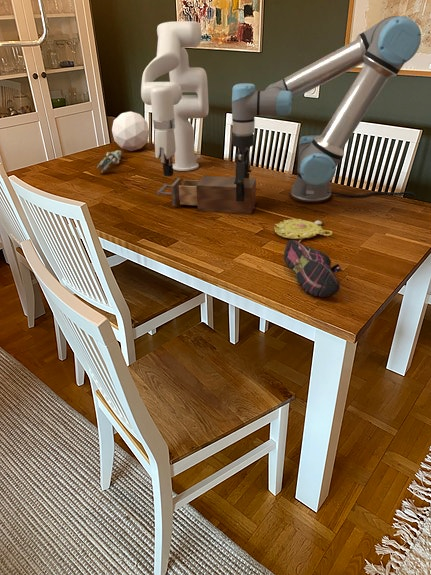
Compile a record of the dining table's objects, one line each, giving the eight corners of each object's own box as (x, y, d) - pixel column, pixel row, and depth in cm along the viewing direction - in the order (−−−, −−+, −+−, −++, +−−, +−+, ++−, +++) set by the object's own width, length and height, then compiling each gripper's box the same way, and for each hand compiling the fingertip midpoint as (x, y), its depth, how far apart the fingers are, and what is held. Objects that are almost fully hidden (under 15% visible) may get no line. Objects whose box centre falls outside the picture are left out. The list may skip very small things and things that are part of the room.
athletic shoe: (326, 286, 106) (365, 278, 110) (286, 224, 118) (323, 219, 122) (310, 314, 115) (347, 305, 119) (274, 254, 127) (309, 248, 131)
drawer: (157, 204, 167) (155, 184, 163) (165, 196, 175) (163, 176, 171) (221, 209, 162) (220, 188, 158) (226, 199, 170) (226, 180, 166)
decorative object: (286, 211, 157) (342, 219, 147) (286, 217, 158) (341, 226, 148) (260, 233, 142) (319, 243, 133) (260, 240, 144) (319, 251, 134)
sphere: (125, 161, 242) (105, 129, 240) (156, 144, 244) (137, 111, 242) (123, 152, 223) (102, 117, 221) (157, 133, 225) (136, 98, 223)
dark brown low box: (197, 210, 164) (196, 185, 159) (204, 200, 173) (203, 175, 168) (251, 214, 160) (251, 188, 155) (255, 203, 169) (256, 178, 164)
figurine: (101, 154, 197) (119, 141, 223) (91, 167, 200) (110, 152, 227) (114, 165, 199) (130, 151, 225) (103, 178, 203) (121, 162, 229)
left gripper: (160, 119, 162) (165, 168, 172) (146, 129, 150) (152, 181, 160) (180, 119, 160) (183, 169, 170) (167, 129, 148) (172, 182, 158)
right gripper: (238, 125, 161) (238, 184, 173) (225, 142, 142) (226, 206, 154) (258, 126, 159) (257, 185, 171) (248, 142, 141) (247, 208, 153)
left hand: (168, 175), depth 165 cm, fingers closed
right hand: (242, 195), depth 163 cm, fingers closed on dark brown low box, 10 cm apart
